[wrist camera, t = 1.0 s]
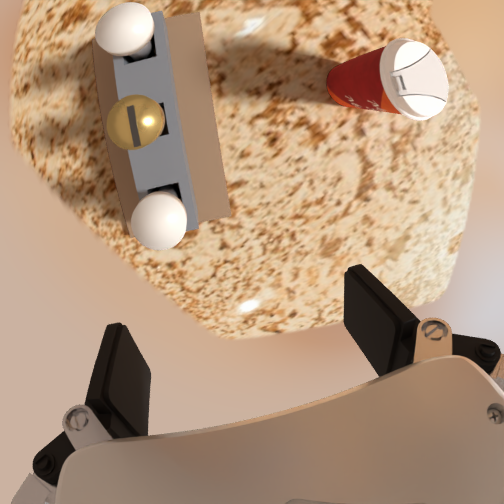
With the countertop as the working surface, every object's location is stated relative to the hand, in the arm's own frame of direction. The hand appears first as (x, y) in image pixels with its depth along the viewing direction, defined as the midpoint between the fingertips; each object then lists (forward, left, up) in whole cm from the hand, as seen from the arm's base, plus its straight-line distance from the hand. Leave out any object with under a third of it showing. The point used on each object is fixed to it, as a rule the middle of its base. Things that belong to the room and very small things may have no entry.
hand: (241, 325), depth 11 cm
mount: (-9, -4, -26) cm, 28 cm away
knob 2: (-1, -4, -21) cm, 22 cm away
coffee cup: (-11, +20, -26) cm, 34 cm away
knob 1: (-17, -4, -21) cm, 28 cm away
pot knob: (-9, -4, -21) cm, 24 cm away
